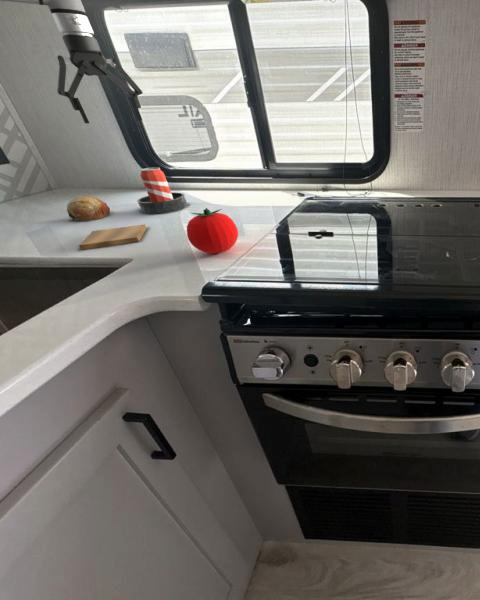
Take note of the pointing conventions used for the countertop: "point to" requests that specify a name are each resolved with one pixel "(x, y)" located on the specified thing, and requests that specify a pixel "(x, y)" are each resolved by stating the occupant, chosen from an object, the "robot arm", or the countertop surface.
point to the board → (113, 236)
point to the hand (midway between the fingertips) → (114, 121)
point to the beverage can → (156, 184)
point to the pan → (163, 204)
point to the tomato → (212, 232)
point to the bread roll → (87, 208)
